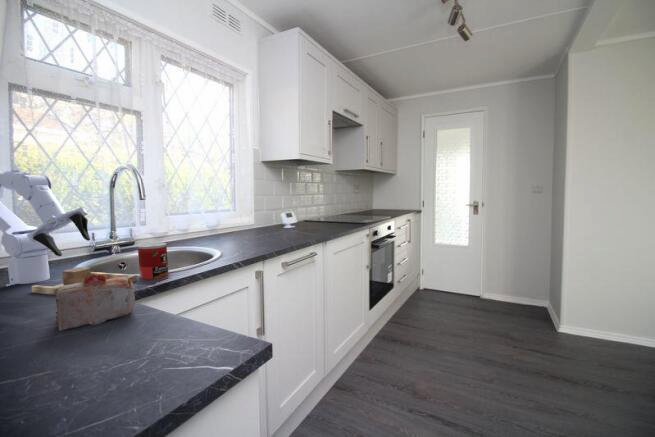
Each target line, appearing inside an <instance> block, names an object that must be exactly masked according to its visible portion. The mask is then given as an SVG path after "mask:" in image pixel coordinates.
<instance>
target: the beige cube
mask: <svg viewBox="0 0 655 437" xmlns="http://www.w3.org/2000/svg"><path fill="white" fill-rule="evenodd" d="M91 272H92V271H91V267H81V266H79V267H74V268H70V269H65V270H62V274H61V275H62V284H63V285H71V284H75V283H82V282H84V281H85V278H86V277H87V276H91Z"/></svg>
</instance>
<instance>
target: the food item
mask: <svg viewBox="0 0 655 437" xmlns="http://www.w3.org/2000/svg"><path fill="white" fill-rule="evenodd" d="M135 288H136V287H135V286H134V282H131V280H129V279H128V277H126V276H124V277H118V278H112V279H106V278H105V276H104V275H91V276H87V277H86V278H85V281H84V282H82V283H75V284H71V285H63V286H60V287H58V288H57V289H55V290H56V291H54V292H55V303H56V311H55V314H56V315H55V318H56V321H57V322H56V326H57V329H58V331H59V332H62V331H66V330H69V329H74V328H79V327H83V326H86V325H94V326H95V325H100V324H102V323H105V322H106V321H108V320H114V319H117V318H121V317H125V316H128V315H129V314H130V312H131V313H132V312H133V310H134V309H135V308H136V303H135V302H136V296H135Z"/></svg>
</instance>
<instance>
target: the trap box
mask: <svg viewBox="0 0 655 437" xmlns="http://www.w3.org/2000/svg"><path fill="white" fill-rule="evenodd" d="M91 275H104V276H105V278H106V279H112V278H118V277H124V276H126V277H128V279H129V280H131V282H132V283H134V282H137V281H138V276H137V274H129V273H128V274H127V273H112V272H98V271H96V272H95V271H91ZM60 286H63V283H59V284H56V285H53V286H50V285H49V286H47V285H38V284H36V285H32V286H31V292H32V293H33V294H34V293H35V294H46V295H55V292H54V291H56V290H55V289H57V288H58V287H60ZM55 296H56V295H55Z"/></svg>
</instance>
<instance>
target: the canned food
mask: <svg viewBox="0 0 655 437" xmlns="http://www.w3.org/2000/svg"><path fill="white" fill-rule="evenodd" d="M137 255H138V265H139V266H138V267H139V277H140V279H141V280H155V279H161V278H162V280H158V281H157V283H158V282H162V281H163V282H164V281H166V280H168V276H169V261H168V259H169V258H168V246H167V242H161V241H160V242H147V243H141V244H139V245H137ZM165 277H166V278H165ZM163 278H164V279H163Z"/></svg>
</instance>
